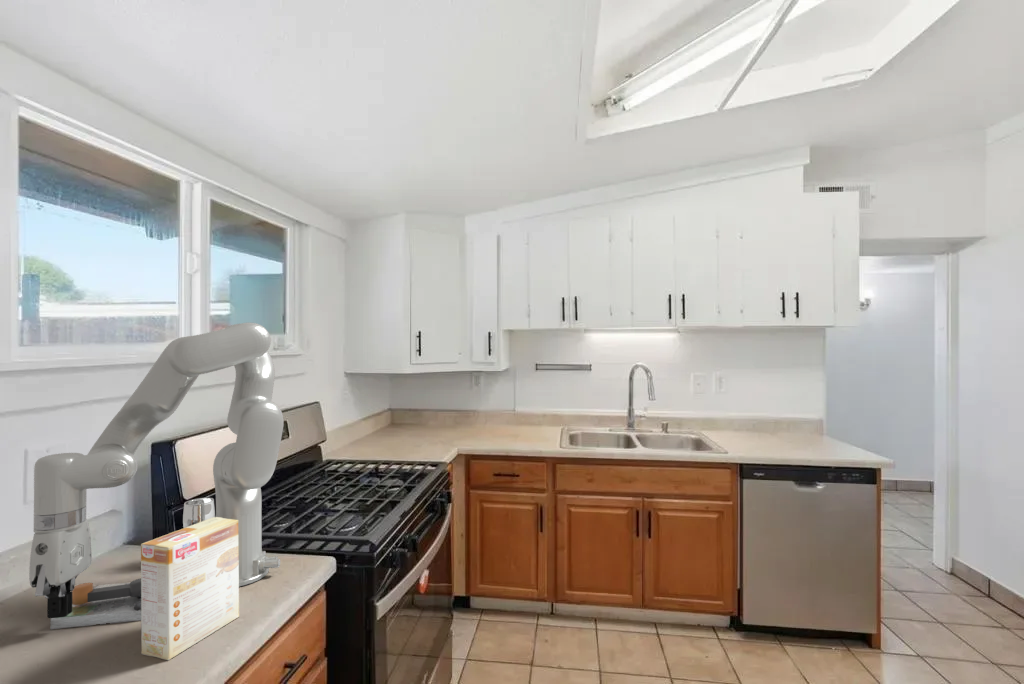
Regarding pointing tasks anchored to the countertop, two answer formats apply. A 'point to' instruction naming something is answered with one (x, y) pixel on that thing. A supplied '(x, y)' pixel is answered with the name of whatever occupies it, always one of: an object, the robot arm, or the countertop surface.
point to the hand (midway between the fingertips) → (59, 615)
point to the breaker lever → (104, 592)
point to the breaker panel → (100, 612)
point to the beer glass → (198, 511)
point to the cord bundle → (137, 606)
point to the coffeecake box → (188, 586)
